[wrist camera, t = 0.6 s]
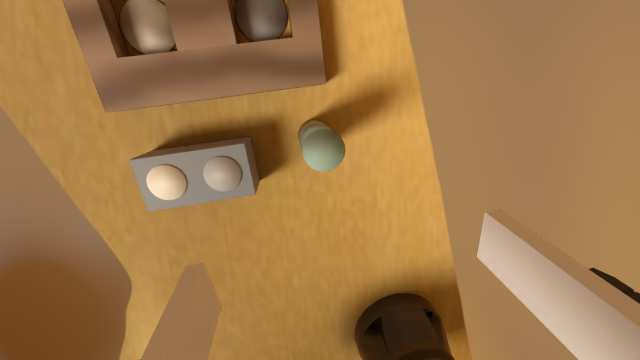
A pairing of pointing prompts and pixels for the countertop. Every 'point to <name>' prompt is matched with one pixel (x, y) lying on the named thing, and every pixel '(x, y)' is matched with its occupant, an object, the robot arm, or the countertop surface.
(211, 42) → the board
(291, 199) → the countertop surface
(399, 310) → the robot arm
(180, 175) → the block
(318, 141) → the pin
